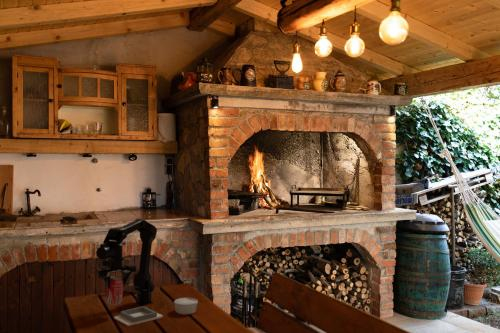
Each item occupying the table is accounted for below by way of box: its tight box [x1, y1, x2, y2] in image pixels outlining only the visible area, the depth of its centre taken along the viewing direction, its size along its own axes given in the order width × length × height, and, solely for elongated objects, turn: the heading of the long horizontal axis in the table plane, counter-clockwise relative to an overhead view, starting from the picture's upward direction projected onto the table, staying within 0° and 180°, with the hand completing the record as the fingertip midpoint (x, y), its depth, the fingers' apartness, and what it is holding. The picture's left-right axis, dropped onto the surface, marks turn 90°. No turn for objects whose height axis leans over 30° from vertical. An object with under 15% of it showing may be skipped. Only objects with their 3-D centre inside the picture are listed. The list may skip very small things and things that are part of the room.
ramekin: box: [173, 297, 199, 316], centre depth 222 cm, size 11×11×5 cm
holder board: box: [113, 305, 164, 327], centre depth 212 cm, size 18×13×3 cm
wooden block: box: [123, 257, 139, 294], centre depth 254 cm, size 4×11×18 cm, turn 70°
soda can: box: [106, 275, 124, 306], centre depth 213 cm, size 7×7×12 cm
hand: (115, 288), depth 213 cm, fingers closed on soda can, 7 cm apart
